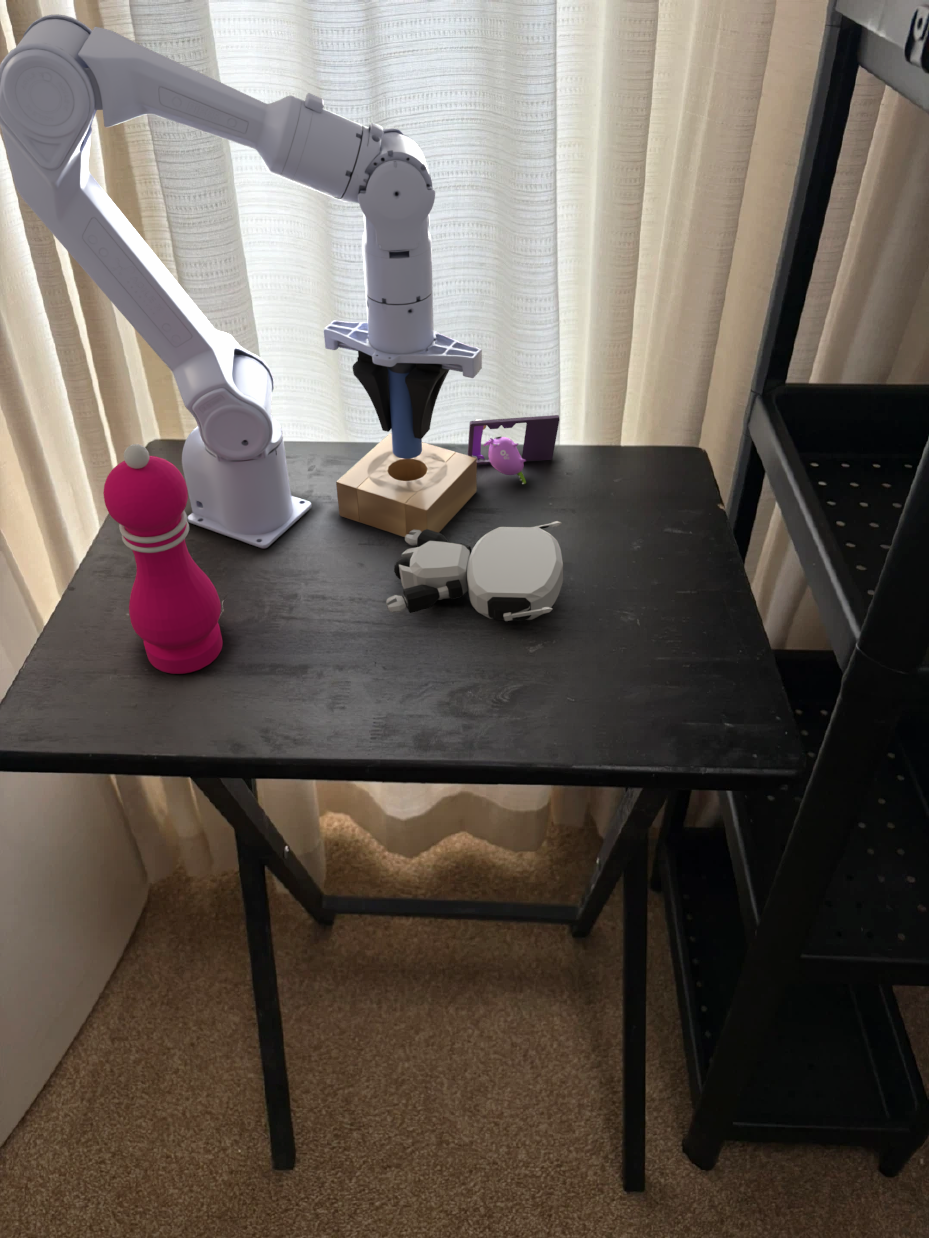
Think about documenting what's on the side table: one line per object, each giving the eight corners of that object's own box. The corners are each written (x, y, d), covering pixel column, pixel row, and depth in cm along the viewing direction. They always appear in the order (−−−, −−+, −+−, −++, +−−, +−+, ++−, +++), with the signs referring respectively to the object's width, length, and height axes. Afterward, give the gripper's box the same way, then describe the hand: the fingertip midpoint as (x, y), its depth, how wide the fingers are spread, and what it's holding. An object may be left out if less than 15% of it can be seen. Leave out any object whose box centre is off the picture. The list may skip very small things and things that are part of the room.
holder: (339, 515, 101) (335, 481, 98) (392, 465, 108) (390, 432, 105) (427, 545, 98) (426, 510, 95) (476, 491, 104) (477, 457, 102)
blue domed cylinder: (387, 455, 98) (381, 355, 91) (400, 440, 100) (395, 341, 93) (414, 461, 97) (410, 360, 90) (426, 446, 99) (423, 346, 92)
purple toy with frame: (558, 409, 103) (468, 415, 102) (566, 450, 101) (475, 457, 100) (550, 451, 109) (466, 457, 108) (558, 491, 107) (472, 497, 106)
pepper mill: (228, 615, 90) (186, 415, 77) (229, 673, 85) (184, 468, 72) (144, 625, 89) (86, 424, 76) (139, 684, 84) (76, 479, 71)
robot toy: (385, 638, 89) (559, 644, 87) (378, 598, 86) (558, 603, 84) (409, 551, 98) (567, 554, 96) (403, 512, 95) (567, 515, 93)
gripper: (300, 295, 87) (316, 435, 96) (459, 325, 83) (460, 468, 92) (340, 263, 92) (351, 399, 101) (491, 290, 88) (489, 429, 97)
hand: (405, 429), depth 97 cm, fingers closed on blue domed cylinder, 3 cm apart
